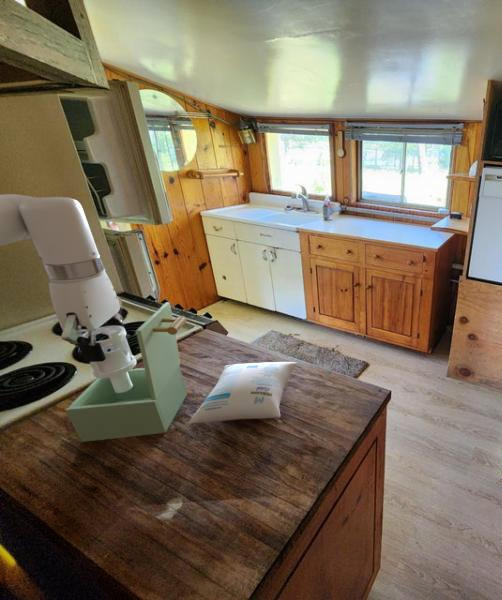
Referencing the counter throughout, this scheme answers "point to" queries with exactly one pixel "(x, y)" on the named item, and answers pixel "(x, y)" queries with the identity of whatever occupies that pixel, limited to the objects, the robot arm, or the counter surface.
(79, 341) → the robot arm
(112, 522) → the counter surface
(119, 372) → the white cylindrical piece
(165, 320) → the lid
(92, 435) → the box
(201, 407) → the pouch
